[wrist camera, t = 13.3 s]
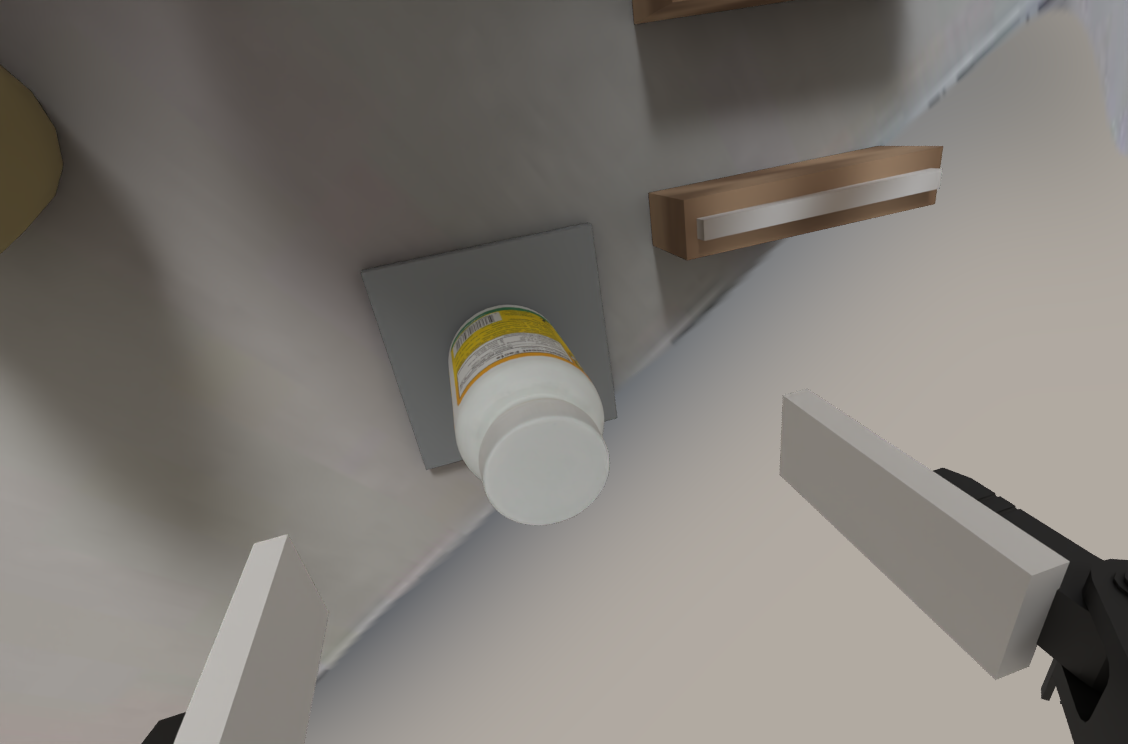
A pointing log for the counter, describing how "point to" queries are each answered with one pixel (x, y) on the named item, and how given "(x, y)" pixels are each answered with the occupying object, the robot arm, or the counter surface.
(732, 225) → the wooden blocks
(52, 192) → the squeeze bottle
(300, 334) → the counter surface
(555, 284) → the mat
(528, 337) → the supplement bottle
